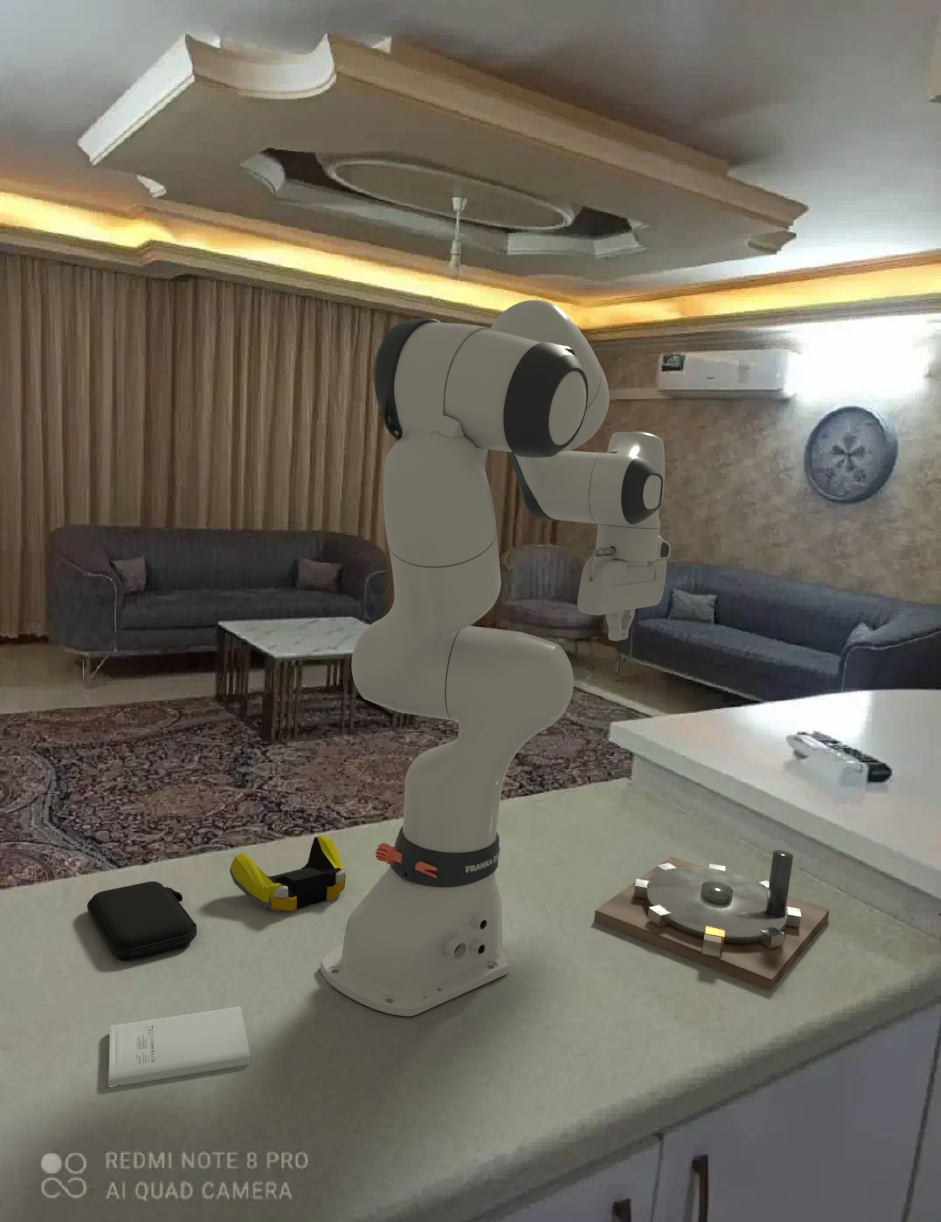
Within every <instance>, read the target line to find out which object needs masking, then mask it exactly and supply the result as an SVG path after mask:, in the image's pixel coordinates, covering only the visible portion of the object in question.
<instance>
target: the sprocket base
mask: <svg viewBox="0 0 941 1222" xmlns="http://www.w3.org/2000/svg"><path fill="white" fill-rule="evenodd" d="M666 863H670V864H672V865H673V866H675V867H676V868H677V867H702V865H701V866H700V865H698V864H695V863H691V862H688V861H686V860H683V859H679V858H677V857H674V856H670V857H668V858H667V859H665V860H664V861H663V862H661V863H660V864H659V865H661V864H666ZM656 870H657V866H655V867H654V868H653V869H651V870H650V871H649V872H647V873H646V874H644V875H642V876H641V877H639V879H641V880H647V881H649V879H650V878H651V877H652V876H653V875H655V874H656ZM635 884H636V881H634V882H633V883H631V884H630V885H628V886H627V887H626V888H624V889H623V890H622V891H621V892H618V893H617V894H616V895H614V896H613V897H612V898H610V899H609V900H607V901H606V902H605V903H603V904H602V905H600V906H599V907H597V908H596V909H595V911H594V920H593V921H594V922H596V923H599V924H601V925H603V926H606V927H609V928H611V929H613V930H616V931H619V932H621V933H623V934H626V935H628V936H631V937H634V938H636V939H638V940H640V941H644V942H645V943H649V944H651V945H653V946H656V947H658V948H661V949H663V950H666V951H668V952H670V953H673V954H676V955H679V956H681V957H684V958H686V959H688V960H691V961H693V962H696V963H699V964H701V965H703V966H706V967H708V968H711V969H713V970H716V971H718V972H721V973H724V974H726V975H728V976H730V977H733V978H736V979H739V980H741V981H743V982H746V983H748V984H750V985H753V986H754V987H758V988H761V989H762V990H763V989H764V990H765V991H768V992H771V991H772V990H773V989H774V987H776V985H777V984H778V983H779V981H780V980H781V979H782V978H783V977H784V975H785V974H786V972H787V971H789V969H790V967H792V965H793V964H794V963H795V962H796V960H797V959H798V957H800V955H801V954H802V953H803V952H804V950H805V949H806V948H807V947H808V945H809V944H810V943H811V941H813V939H814V938H815V937H816V936H817V934H818V933H819V932H820V931H821V930H822V928H823V927H824V926H825V925H826V924H827V922H828V921H829V915H830V909H829V908H826V907H823V906H819V905H817V904H815V903H811V902H808V901H806V900H802V899H800V898H797V897H793V896H790V895H788V898H787V907H792V908H798V909H800V913H801V921H800V928H799V927H794V926H789V925H786V929H785V930H784V932H783V933H785V935H784V942H783V945H781V946H778V947H774V948H769V947H767V946H766V945H764V944H762V943H761V942H758V943H747V944H743V943H726V942H724V944H723V948H721V939H722V937H717V936H712V935H707V934H704V938H701V937H698V936H695V935H692V934H689V933H686V932H684V931H681V930H679V929H677V928H675V927H673V926H671V925H669V924H668V925H664V926H660V927H659V926H658V925H656V924H655V923H653V922H652V921H651V920H649V919H648V911H649V906H648V904H647V901H646V898H642V897H636V896H634V891H635Z"/></svg>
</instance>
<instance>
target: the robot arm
mask: <svg viewBox="0 0 941 1222" xmlns="http://www.w3.org/2000/svg"><path fill="white" fill-rule="evenodd" d="M372 369H373V371H372V372H373V373H372V374H373V375H372V377H373V386H374V392H375V396H376V397H375V398H376V403H377V404H378V407H379V410H380V411H381V419H382V422H383V424H384V427H385V428H386V430H387V431H388V433H389V434H390V435H391V436H392V437H393V438H394V439H395V440H396V442H395V443H394V444H393V445H392V446H391V448H390V449H389V451H388V453H387V454H386V457H385V461H384V465H383V482H382V483H383V484H382V485H383V487H382V490H383V491H382V492H383V493H382V494H383V495H382V497H383V498H382V499H383V501H382V502H383V516H384V525H385V533H386V535H385V536H386V542H387V546H388V552H389V556H390V564H391V569H392V581H393V588H394V589H393V591H394V599H393V603H392V606H391V608H390V610H389V612H387V614H386V615H384V616H383V617H382V618H380V619H377V620H376V621H374V622H372V623H371V624H370V625H368V626H367V628H366V629H365V630H364V631H363V632H362V633H361V634H360V636H359V637H358V639H357V641H356V643H355V646H354V648H353V651H352V657H351V673H352V679H353V683H354V685H355V687H356V689H357V691H358V693H359V694H360V696H361V697H362V698H363V699H364V700H366V701H369V702H371V703H373V704H376V705H377V706H378V705H379V706H381V707H384V708H386V709H389V710H392V711H394V712H395V711H396V712H397V713H403V714H406V715H407V714H408V715H413V716H420V717H421V716H422V717H428V718H434V719H435V718H436V719H440V720H441V719H442V720H446V721H447V720H448V721H452V722H455V723H457V724H458V734H457V738H456V739H455V740H453V741H449V742H447V743H445V744H440V745H438V746H434V747H432V748H430V749H427V750H425V751H423V752H422V753H421V754H419V755H418V756H416V758H415V759H414V760H413V761H412V762H411V764H410V766H409V767H408V769H407V772H406V775H405V785H404V800H403V801H404V805H403V816H402V818H403V819H402V821H403V822H402V826H400V829H399V832H398V833H397V837H396V839H395V842H394V846H391V845H390V844H388V843H387V842H381V843H379V844H378V846H377V848H376V849H375V853H374V855H375V859H376V860H378V861H380V862H385V863H386V864H387V865H389V866H388V868H387V869H386V871H385V872H384V873H383V874H382V876H380V878H379V879H378V880H377V882H376V883H374V885H373V887H371V889H370V891H368V893H367V894H366V895H365V897H364V898H363V899H362V900H361V901H360V903H359V904H358V905H357V907H356V908H355V909H354V910H353V911H352V913H351V914H350V915H349V917H348V919H347V923H346V927H345V931H344V935H343V937H344V938H343V942H341V943H340V944H339V945H337V946H336V948H334V949H332V951H330V952H329V953H328V954H326V955H325V956H324V957H323V958H322V959H321V961H320V966H319V970H320V973H321V974H322V976H323V978H324V979H325V980H326V981H327V982H328V983H329V984H330V985H331V986H332V987H333V988H335V989H336V990H338V991H339V992H341V994H343V995H345V996H347V997H348V998H350V999H352V1000H354V1001H356V1002H358V1003H359V1004H362V1005H364V1006H367V1007H369V1008H371V1009H374V1010H376V1011H380V1012H381V1013H382V1012H383V1013H386V1014H390V1015H394V1016H395V1015H396V1016H401V1017H402V1016H403V1017H412V1016H416V1015H419V1014H421V1013H423V1012H425V1011H427V1010H430V1009H432V1008H435V1007H436V1006H438V1005H441V1004H443V1003H445V1002H448V1001H450V1000H453V999H454V998H456V997H459V996H461V995H463V994H466V993H468V992H470V991H471V990H474V989H476V988H478V987H481V986H483V985H485V984H488V983H490V982H492V981H495V980H497V979H499V978H501V977H503V976H506V975H507V974H508V973H509V961H508V958H507V957H506V956H505V954H504V952H503V914H502V913H503V912H502V898H501V895H500V892H499V888H498V884H497V880H496V871H497V868H498V867H499V857H500V854H501V853H500V852H501V847H500V836H499V833H498V829H497V828H498V819H499V810H500V801H501V797H502V791H503V785H504V781H505V780H504V779H505V777H506V774H507V771H508V770H509V767H510V764H512V761H513V760H514V758H515V756H516V755H517V754H518V752H519V750H521V749H522V747H524V745H525V744H527V742H528V741H529V740H531V739H532V738H533V737H534V736H536V735H537V734H539V733H540V732H543V731H544V730H546V729H548V728H550V727H551V726H552V725H554V724H555V723H557V721H558V720H559V719H560V718H561V717H562V716H563V715H564V713H565V712H566V710H567V709H568V707H569V704H570V702H571V700H572V696H573V693H574V687H575V685H574V684H575V679H574V671H573V668H572V667H573V666H572V664H571V661H570V659H569V657H568V655H567V653H566V652H565V650H564V649H563V648H562V646H561V645H560V644H558V643H556V642H553V641H550V640H547V639H544V638H541V637H538V636H536V635H532V634H529V633H526V632H524V631H516V630H506V629H499V628H491V627H483V626H475V625H474V626H473V624H475V623H476V622H477V621H479V620H480V619H481V618H483V617H484V616H485V615H486V614H487V613H488V612H489V611H490V610H491V609H492V608H493V606H494V605H495V604H496V602H497V600H498V598H499V595H500V592H501V589H502V578H501V567H500V566H501V565H500V564H501V563H500V555H499V554H500V553H499V542H498V532H497V522H496V521H497V520H496V514H495V513H496V512H495V507H494V501H493V495H492V492H491V491H492V490H491V487H490V484H489V480H488V476H487V473H486V469H485V465H486V459H487V455H488V452H489V450H492V451H493V450H494V451H501V452H506V454H507V457H508V459H509V462H510V464H511V467H512V469H513V472H514V474H515V475H516V476H515V477H516V478H517V481H518V484H519V485H518V487H519V492H520V493H519V494H520V498H521V501H522V504H523V506H524V507H525V509H526V510H527V511H528V512H529V514H530V515H531V516H532V517H533V518H534V519H535V520H538V521H541V522H542V521H543V522H544V521H545V522H546V521H547V522H549V521H550V522H561V521H565V522H574V523H585V524H597V532H596V533H597V534H596V545H595V548H594V550H593V552H592V554H591V555H590V556H589V557H588V560H587V561H586V562H585V563H584V566H583V569H582V573H581V576H580V583H579V588H578V594H577V609H578V611H579V612H580V613H583V614H587V615H593V616H602V615H605V620H606V624H607V628H608V633H607V634H608V635H607V637H608V639H609V641H614V642H619V641H623V640H626V639H628V637H629V631H630V627H631V625H632V622H633V620H634V617H635V613H636V609H642V608H647V607H652V606H658V605H659V604H660V603H661V600H662V598H663V595H664V590H665V584H666V577H667V569H668V568H667V561H666V560H667V559H669V558H670V557H671V551H672V545H671V544H670V543H669V542H667V541H666V540H664V538H662V536H661V535H660V531H661V528H660V527H661V523H660V517H659V514H660V507H661V504H662V502H663V499H664V490H665V477H666V475H665V474H666V472H665V471H666V466H665V465H666V461H665V445H664V441H663V439H662V438H660V437H659V436H657V435H656V434H653V433H651V432H645V431H642V430H621V431H616V432H614V433H613V434H612V435H611V437H610V439H609V443H608V447H607V452H596V451H595V452H594V451H576V450H575V449H577V448H579V447H581V446H582V445H584V444H585V443H587V442H589V440H590V439H591V438H593V436H595V434H596V433H597V432H598V430H600V428H601V427H602V425H603V424H604V423H603V422H605V418H606V417H607V414H608V410H609V408H610V407H609V406H610V390H609V385H608V381H607V378H606V375H605V373H604V370H603V368H602V366H601V363H600V362H599V360H598V358H597V356H596V353H595V352H594V349H592V347H591V345H590V344H589V342H588V340H587V339H586V337H585V335H584V334H583V333H582V331H581V330H580V329H579V327H577V325H576V324H575V323H574V321H572V319H571V318H570V317H569V316H568V315H567V314H566V312H564V311H563V310H562V309H561V308H559V307H558V306H557V305H555V304H553V303H552V302H549V301H545V300H541V299H539V300H538V299H531V300H529V299H528V300H524V301H521V302H518V303H516V304H513V305H511V306H510V307H508V308H507V309H505V310H504V311H503V312H502V313H501V314H499V315H498V317H497V318H496V319H495V320H494V322H492V324H491V326H490V327H487V326H482V325H481V326H480V325H475V324H467V323H454V322H442V321H440V320H438V319H434V318H420V319H410V320H405V321H401V322H399V323H397V324H396V325H394V326H393V327H392V328H390V330H389V331H388V332H387V333H386V335H385V337H384V338H383V340H382V341H381V343H380V345H379V347H378V349H377V352H376V355H375V358H374V363H373V368H372ZM396 432H397V433H398V434H396Z"/></svg>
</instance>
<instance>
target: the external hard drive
mask: <svg viewBox="0 0 941 1222" xmlns="http://www.w3.org/2000/svg"><path fill="white" fill-rule="evenodd" d="M108 1036H109V1040H108V1041H109V1044H108V1045H109V1046H108V1047H109V1049H108V1081H107V1082H108V1084H107V1085H108V1088H109V1087H110V1086H114V1085H115V1086H117V1085H123V1086H128V1085H127V1084H129V1085H134V1084H140V1083H141V1084H142V1083H146V1082H152V1081H159V1080H163V1079H164V1080H165V1079H171V1078H177V1077H182V1076H183V1077H184V1076H188V1075H189V1076H190V1075H194V1074H195V1075H196V1074H200V1073H201V1074H202V1073H208V1072H212V1071H214V1072H215V1071H218V1070H224V1069H230V1068H231V1069H232V1068H236V1067H237V1068H238V1067H242V1066H243V1067H244V1066H249V1065H250V1064H251V1050H250V1045H249V1040H248V1037H247V1031H246V1027H245V1021H244V1017H243V1012H242V1008H241V1006H235V1007H227V1008H221V1009H214V1010H208V1011H207V1010H206V1011H200V1012H194V1013H188V1014H181V1015H175V1016H174V1015H173V1016H166V1017H160V1018H153V1019H147V1020H140V1021H135V1022H128V1023H120V1024H115V1025H110V1026H109V1035H108ZM133 1083H134V1084H133ZM117 1087H118V1086H117Z"/></svg>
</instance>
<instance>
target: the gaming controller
mask: <svg viewBox="0 0 941 1222" xmlns="http://www.w3.org/2000/svg"><path fill="white" fill-rule="evenodd" d="M340 857H341V856H340V854H339V851H338V849H337V846H336V844H335V843H334V842H333V840H332V838H330V837H329V836H328V835H325V834H322V835H317V836H316V835H315V836H314V838H313V841H312V844H311V848H310V851H309V855H308V859H307V863H306V864H305V865H304V866H303V867H300V868H299V869H295V870H291V871H287V872H283V873H279V874H275V875H270V876H269V875H267V874H266V873H265V872H264V871H262V869H261V868H260V867H259V866H258V864H256V862H254V860H253V859H252V858H251V856H249V855H248V853H245V852H243V853H239V854H237V855H235V856H234V857H233V858H234V859H232V861H231V864H230V867H229V874H230V876H231V879H232V881H233V884H234V885H235V886H237V887H238V889H240V890H241V892H243V893H244V895H246V897H248V898H249V899H250V900H251V901H253V902H255V903H256V904H258V905H260V906H261V907H264V908H265V910H268V911H271V912H272V911H273V912H274V911H280V912H281V911H282V912H287V911H288V912H294V911H295V910H299V909H303V908H305V907H309V906H313V905H316V904H321V903H323V902H327V901H330V900H331V901H333V900H335V899H336V898H337V897H338V896H339V895H340V894H341V893H342V892H343V891H344V890H345V887H346V879H347V878H346V877H347V875H346V872H347V871H346V869H345V868H344V866H343V863H342V860H341V858H340Z"/></svg>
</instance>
